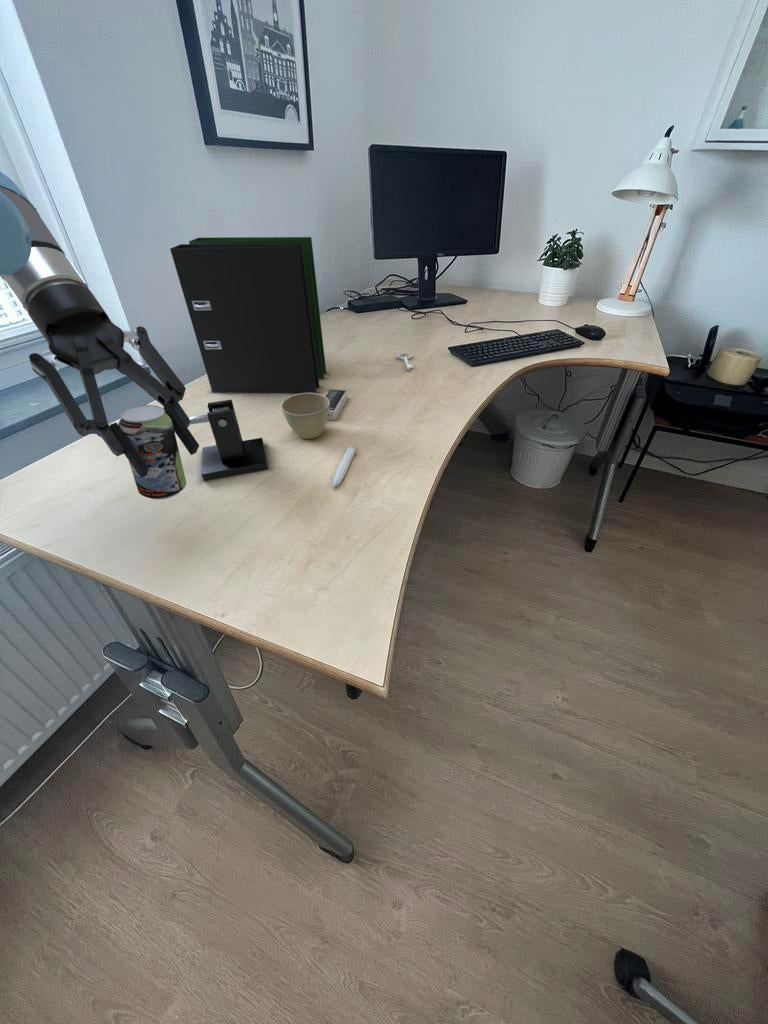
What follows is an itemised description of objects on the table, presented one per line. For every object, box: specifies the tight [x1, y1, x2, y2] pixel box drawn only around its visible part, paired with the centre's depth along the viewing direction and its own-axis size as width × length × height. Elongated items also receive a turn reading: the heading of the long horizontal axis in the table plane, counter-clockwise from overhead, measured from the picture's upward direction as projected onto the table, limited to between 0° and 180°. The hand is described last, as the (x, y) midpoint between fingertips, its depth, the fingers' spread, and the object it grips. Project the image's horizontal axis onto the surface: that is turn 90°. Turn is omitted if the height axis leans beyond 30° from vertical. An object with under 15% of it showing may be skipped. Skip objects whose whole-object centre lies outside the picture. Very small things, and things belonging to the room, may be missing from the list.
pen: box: [332, 446, 356, 487], centre depth 83 cm, size 2×14×2 cm, turn 170°
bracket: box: [201, 399, 269, 482], centre depth 83 cm, size 12×10×12 cm
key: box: [396, 351, 414, 371], centre depth 124 cm, size 12×1×4 cm
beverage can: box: [117, 404, 187, 501], centre depth 56 cm, size 6×7×12 cm
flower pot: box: [280, 392, 330, 440], centre depth 92 cm, size 10×10×7 cm
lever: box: [174, 406, 229, 432], centre depth 79 cm, size 11×6×2 cm, turn 107°
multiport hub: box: [324, 389, 348, 421], centre depth 102 cm, size 4×11×2 cm, turn 169°
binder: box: [169, 236, 327, 394], centre depth 105 cm, size 27×15×32 cm, turn 84°
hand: (170, 461), depth 55 cm, fingers closed on beverage can, 6 cm apart
